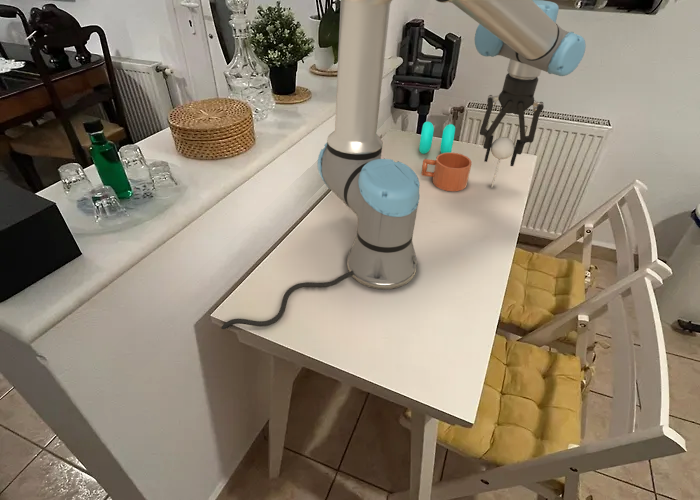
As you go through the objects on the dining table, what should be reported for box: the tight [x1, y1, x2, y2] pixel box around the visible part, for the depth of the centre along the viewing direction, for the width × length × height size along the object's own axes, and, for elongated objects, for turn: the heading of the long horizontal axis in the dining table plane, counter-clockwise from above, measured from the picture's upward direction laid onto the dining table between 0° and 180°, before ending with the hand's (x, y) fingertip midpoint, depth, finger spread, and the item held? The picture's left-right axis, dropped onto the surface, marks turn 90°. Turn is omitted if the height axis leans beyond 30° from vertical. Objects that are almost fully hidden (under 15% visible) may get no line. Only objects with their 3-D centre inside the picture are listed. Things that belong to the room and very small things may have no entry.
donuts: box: [418, 120, 456, 155], centre depth 135 cm, size 10×10×10 cm
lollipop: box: [490, 136, 515, 188], centre depth 118 cm, size 6×6×15 cm
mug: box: [420, 152, 473, 192], centre depth 122 cm, size 13×10×7 cm
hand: (498, 161), depth 118 cm, fingers closed on lollipop, 6 cm apart
